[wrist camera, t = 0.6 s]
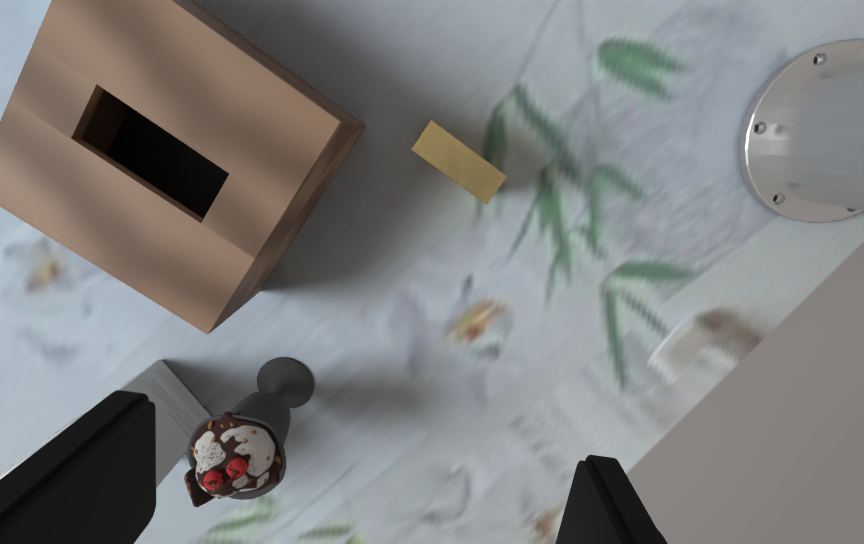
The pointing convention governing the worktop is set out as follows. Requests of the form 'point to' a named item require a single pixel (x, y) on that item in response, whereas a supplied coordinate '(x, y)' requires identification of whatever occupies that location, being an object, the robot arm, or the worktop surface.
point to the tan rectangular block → (458, 162)
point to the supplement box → (157, 416)
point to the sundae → (248, 437)
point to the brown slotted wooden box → (184, 119)
